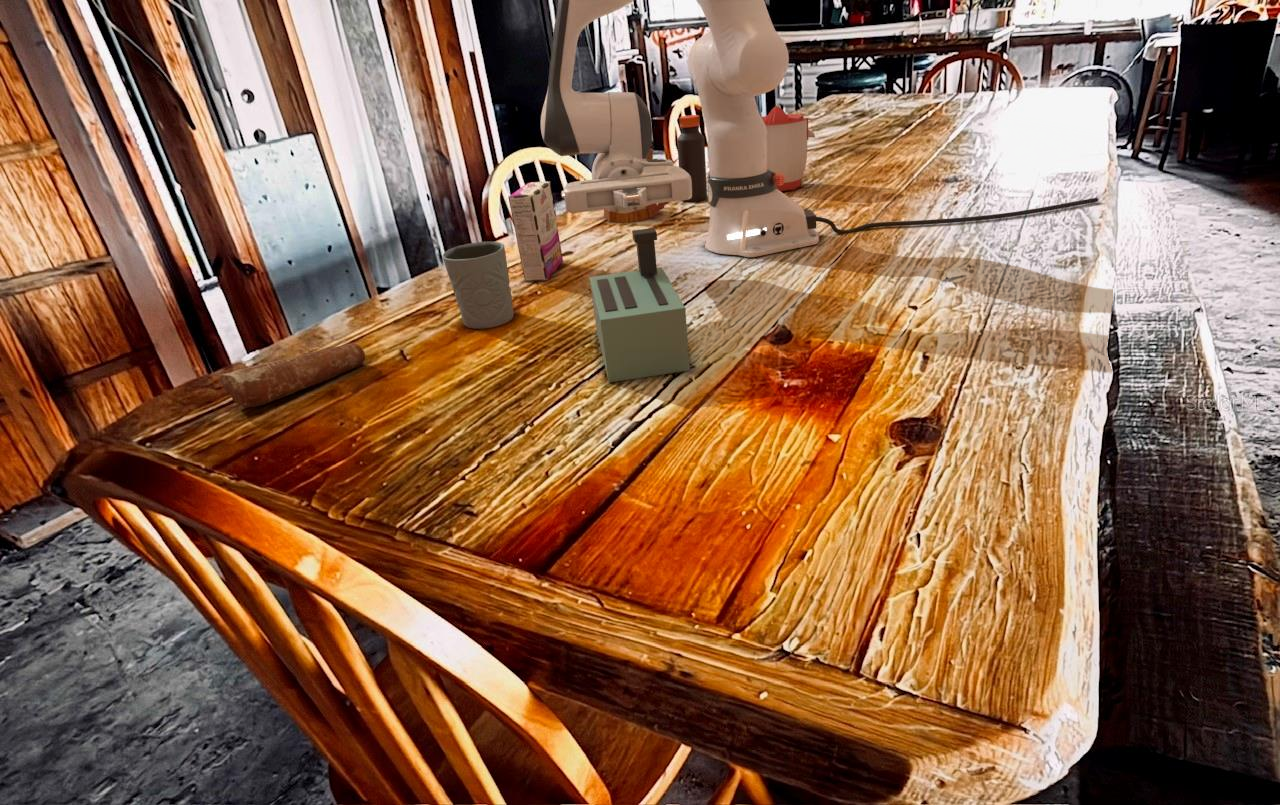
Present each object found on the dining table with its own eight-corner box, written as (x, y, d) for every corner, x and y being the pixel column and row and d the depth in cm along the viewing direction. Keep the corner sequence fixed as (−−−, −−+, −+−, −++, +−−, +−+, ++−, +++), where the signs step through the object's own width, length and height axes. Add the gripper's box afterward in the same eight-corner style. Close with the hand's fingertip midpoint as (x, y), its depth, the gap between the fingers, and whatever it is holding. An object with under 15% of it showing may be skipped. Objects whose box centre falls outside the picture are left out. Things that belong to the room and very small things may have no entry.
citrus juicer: (820, 190, 176) (822, 105, 167) (750, 197, 177) (749, 112, 168) (807, 178, 190) (809, 98, 181) (743, 184, 191) (741, 105, 182)
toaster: (666, 322, 110) (661, 265, 106) (689, 370, 94) (685, 306, 90) (596, 332, 109) (589, 275, 105) (608, 382, 94) (600, 318, 89)
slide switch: (657, 269, 104) (653, 227, 101) (660, 274, 102) (656, 231, 99) (636, 272, 104) (631, 230, 101) (638, 277, 102) (634, 234, 99)
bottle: (711, 196, 183) (708, 114, 173) (699, 202, 178) (695, 118, 168) (689, 195, 186) (683, 114, 177) (676, 201, 181) (670, 119, 172)
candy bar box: (540, 263, 145) (527, 182, 137) (564, 262, 144) (551, 180, 136) (522, 282, 135) (506, 195, 127) (547, 281, 134) (532, 194, 126)
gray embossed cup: (489, 334, 113) (474, 261, 107) (445, 326, 118) (428, 256, 112) (530, 311, 120) (517, 242, 115) (486, 305, 125) (472, 238, 120)
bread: (229, 406, 99) (214, 370, 96) (360, 359, 109) (349, 325, 107) (242, 420, 94) (227, 383, 92) (376, 369, 105) (366, 335, 102)
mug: (592, 218, 174) (584, 155, 167) (633, 206, 182) (627, 145, 174) (645, 229, 161) (638, 161, 153) (687, 215, 168) (683, 149, 161)
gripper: (557, 171, 115) (561, 188, 103) (680, 158, 117) (698, 172, 105) (563, 210, 118) (567, 230, 106) (682, 196, 120) (700, 215, 108)
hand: (633, 201), depth 105 cm, fingers closed
